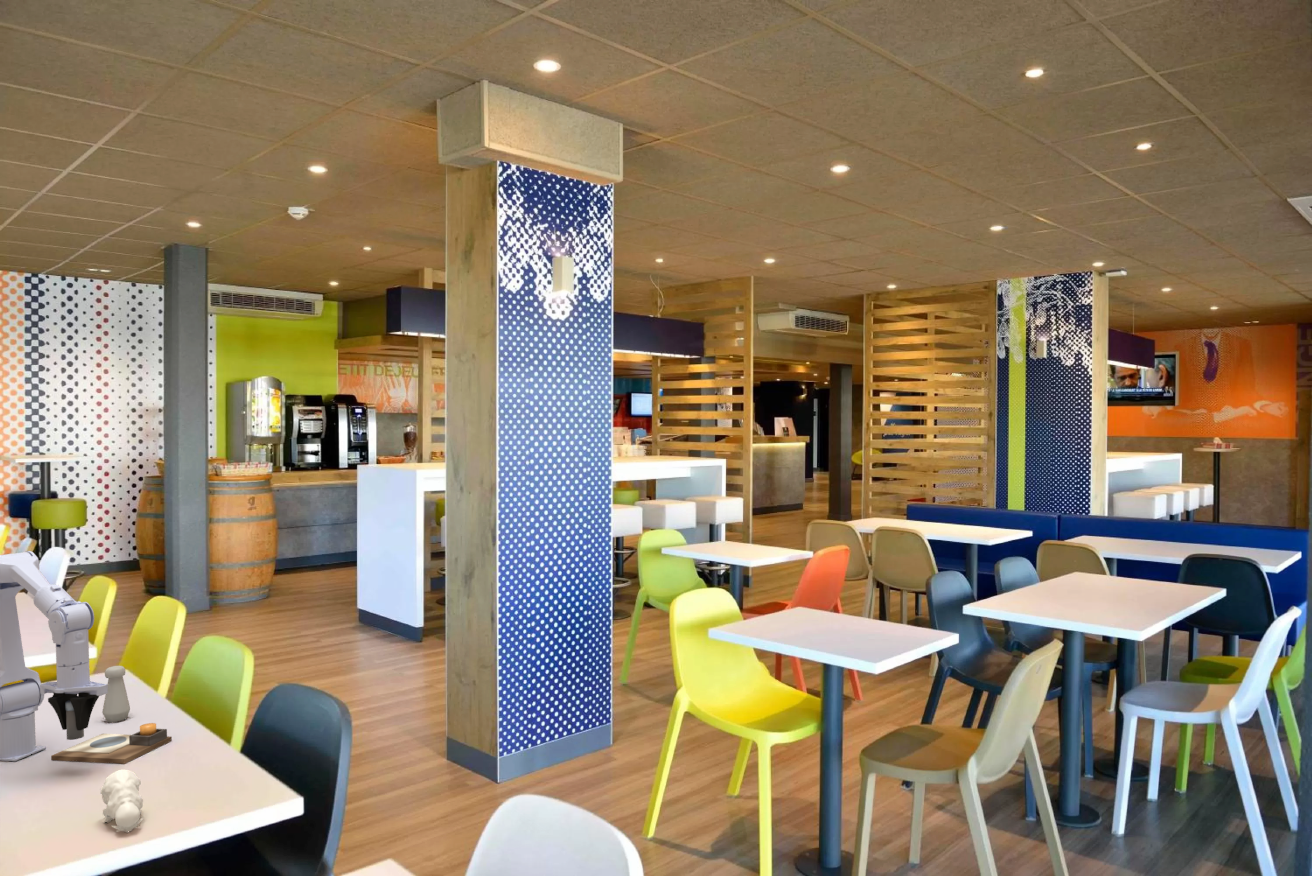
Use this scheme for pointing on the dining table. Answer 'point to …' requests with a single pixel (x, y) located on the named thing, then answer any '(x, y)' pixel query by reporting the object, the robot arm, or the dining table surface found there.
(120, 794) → the white crouching figurine
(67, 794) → the dining table surface
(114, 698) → the salt shaker
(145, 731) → the button
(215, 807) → the dining table surface
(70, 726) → the cylinder
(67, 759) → the board
